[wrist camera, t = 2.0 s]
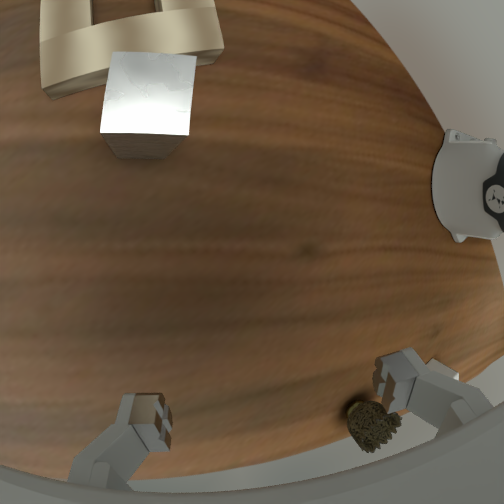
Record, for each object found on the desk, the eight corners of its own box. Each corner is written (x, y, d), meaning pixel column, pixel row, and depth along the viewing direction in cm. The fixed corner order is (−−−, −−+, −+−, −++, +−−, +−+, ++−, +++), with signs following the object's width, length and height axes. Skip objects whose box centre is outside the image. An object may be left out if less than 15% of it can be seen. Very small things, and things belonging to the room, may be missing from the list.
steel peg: (168, 113, 26) (196, 56, 14) (164, 159, 27) (188, 135, 14) (121, 112, 25) (112, 51, 12) (117, 158, 26) (100, 132, 13)
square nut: (190, -45, 22) (198, -65, 19) (213, 63, 27) (224, 48, 23) (51, -19, 18) (45, -38, 14) (52, 100, 22) (41, 88, 18)
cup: (325, 415, 42) (355, 446, 34) (360, 380, 43) (394, 407, 35) (345, 430, 45) (373, 458, 37) (376, 398, 46) (407, 423, 38)
